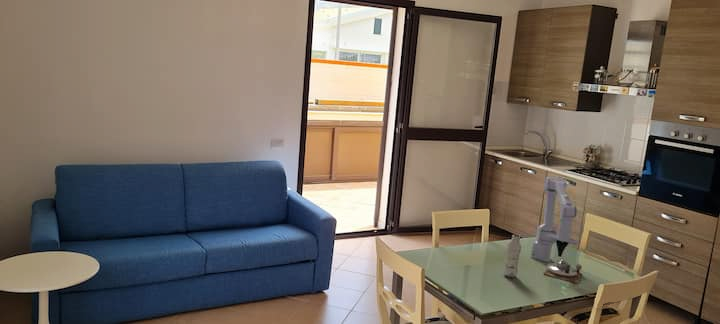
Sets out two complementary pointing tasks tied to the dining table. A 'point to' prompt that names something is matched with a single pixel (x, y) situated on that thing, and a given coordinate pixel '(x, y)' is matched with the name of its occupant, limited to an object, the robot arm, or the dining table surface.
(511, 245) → the plastic bottle
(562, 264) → the cover
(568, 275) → the turntable
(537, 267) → the dining table surface
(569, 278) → the base board
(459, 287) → the dining table surface
